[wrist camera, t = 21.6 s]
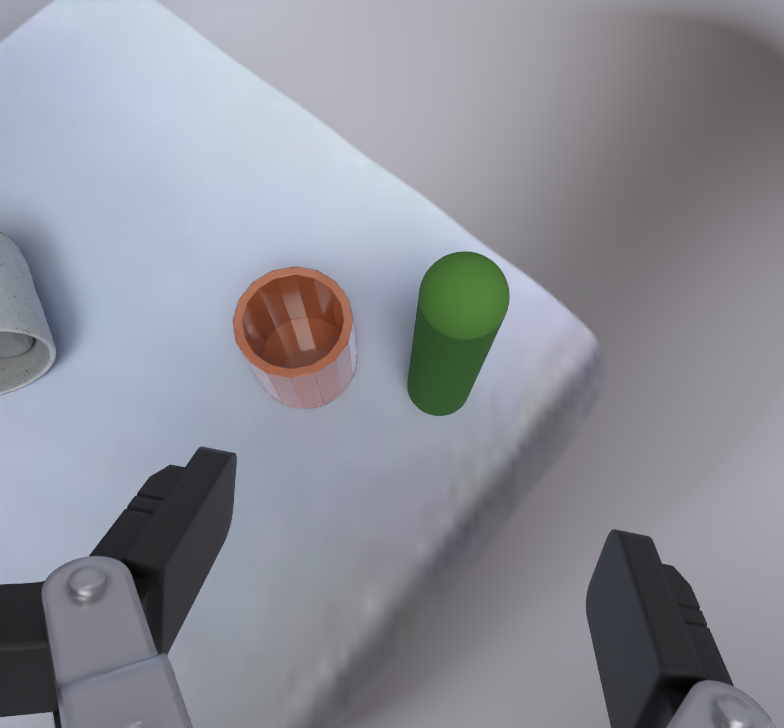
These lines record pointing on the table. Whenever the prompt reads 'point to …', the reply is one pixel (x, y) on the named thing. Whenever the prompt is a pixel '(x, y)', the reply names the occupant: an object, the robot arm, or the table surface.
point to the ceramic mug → (21, 323)
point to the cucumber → (454, 329)
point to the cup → (297, 336)
